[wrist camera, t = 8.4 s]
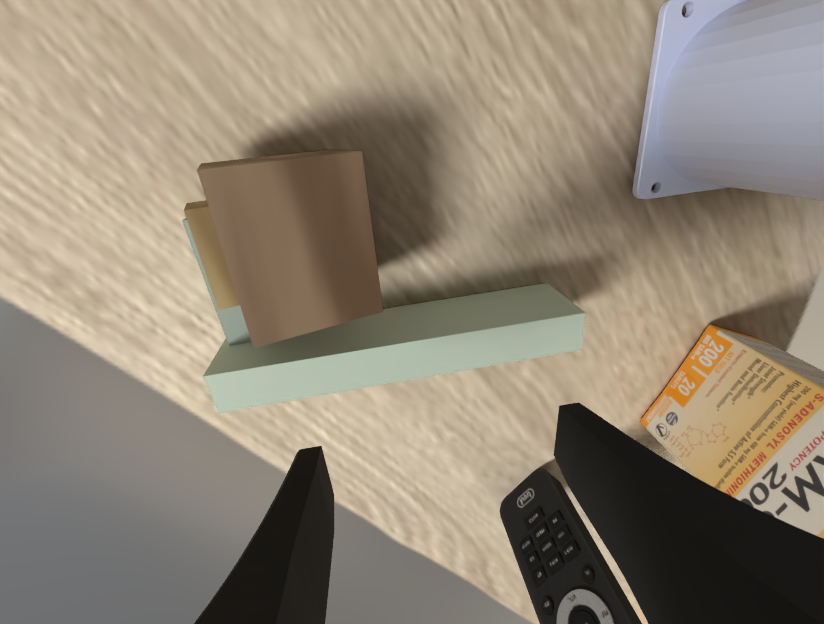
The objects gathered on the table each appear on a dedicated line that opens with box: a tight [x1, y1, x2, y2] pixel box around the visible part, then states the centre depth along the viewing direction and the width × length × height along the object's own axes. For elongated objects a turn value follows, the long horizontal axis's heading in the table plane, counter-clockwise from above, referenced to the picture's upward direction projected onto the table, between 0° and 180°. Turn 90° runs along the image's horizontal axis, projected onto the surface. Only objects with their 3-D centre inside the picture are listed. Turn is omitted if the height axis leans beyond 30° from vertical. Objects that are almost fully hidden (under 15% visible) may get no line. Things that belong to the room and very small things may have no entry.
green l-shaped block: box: [182, 218, 586, 413], centre depth 17 cm, size 17×8×4 cm, turn 96°
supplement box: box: [640, 325, 824, 539], centre depth 20 cm, size 8×5×13 cm, turn 161°
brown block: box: [184, 150, 383, 348], centre depth 15 cm, size 4×6×6 cm
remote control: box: [500, 469, 642, 624], centre depth 21 cm, size 5×2×15 cm, turn 142°
